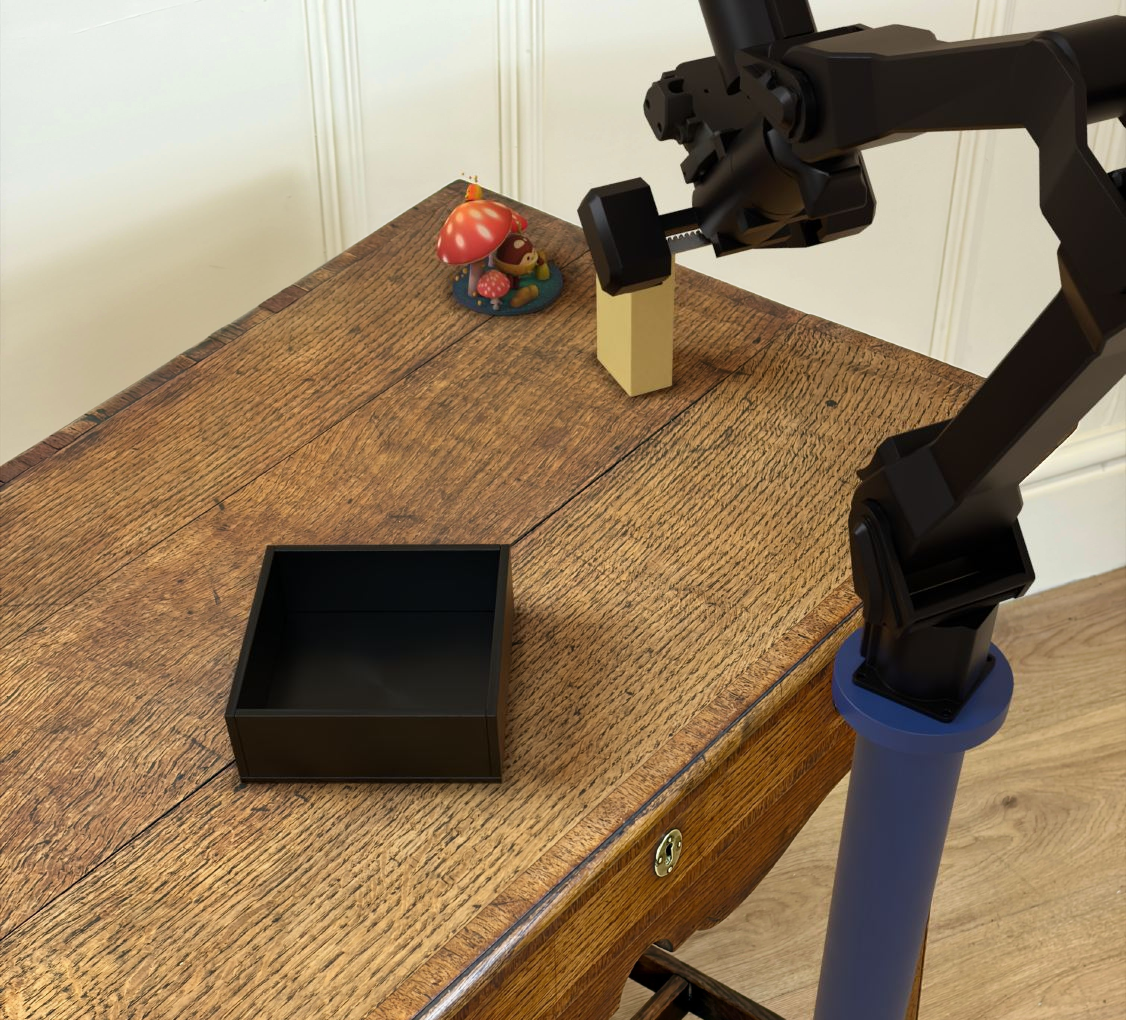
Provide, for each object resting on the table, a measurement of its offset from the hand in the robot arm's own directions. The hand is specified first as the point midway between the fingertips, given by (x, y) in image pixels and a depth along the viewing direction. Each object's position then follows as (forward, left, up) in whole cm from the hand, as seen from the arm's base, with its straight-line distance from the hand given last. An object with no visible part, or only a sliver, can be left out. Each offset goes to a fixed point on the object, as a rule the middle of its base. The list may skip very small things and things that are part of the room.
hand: (683, 256), depth 106 cm
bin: (-1, +34, -13) cm, 37 cm away
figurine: (+22, -9, -13) cm, 28 cm away
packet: (+6, -4, -13) cm, 15 cm away
